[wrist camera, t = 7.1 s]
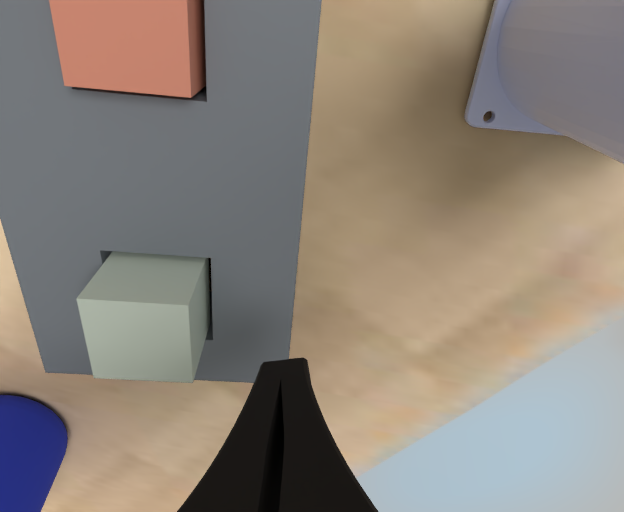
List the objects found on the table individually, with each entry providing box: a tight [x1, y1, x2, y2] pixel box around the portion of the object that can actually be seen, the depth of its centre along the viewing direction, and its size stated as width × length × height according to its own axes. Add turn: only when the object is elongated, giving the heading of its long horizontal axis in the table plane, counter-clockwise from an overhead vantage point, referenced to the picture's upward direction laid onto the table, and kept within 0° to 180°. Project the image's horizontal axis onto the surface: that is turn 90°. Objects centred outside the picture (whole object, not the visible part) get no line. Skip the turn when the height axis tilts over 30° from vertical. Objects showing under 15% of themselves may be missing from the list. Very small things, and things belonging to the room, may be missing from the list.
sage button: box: [76, 251, 210, 383], centre depth 18 cm, size 4×4×4 cm
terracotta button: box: [49, 0, 206, 98], centre depth 15 cm, size 4×4×4 cm
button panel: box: [0, 0, 322, 383], centre depth 16 cm, size 12×32×4 cm, turn 175°
